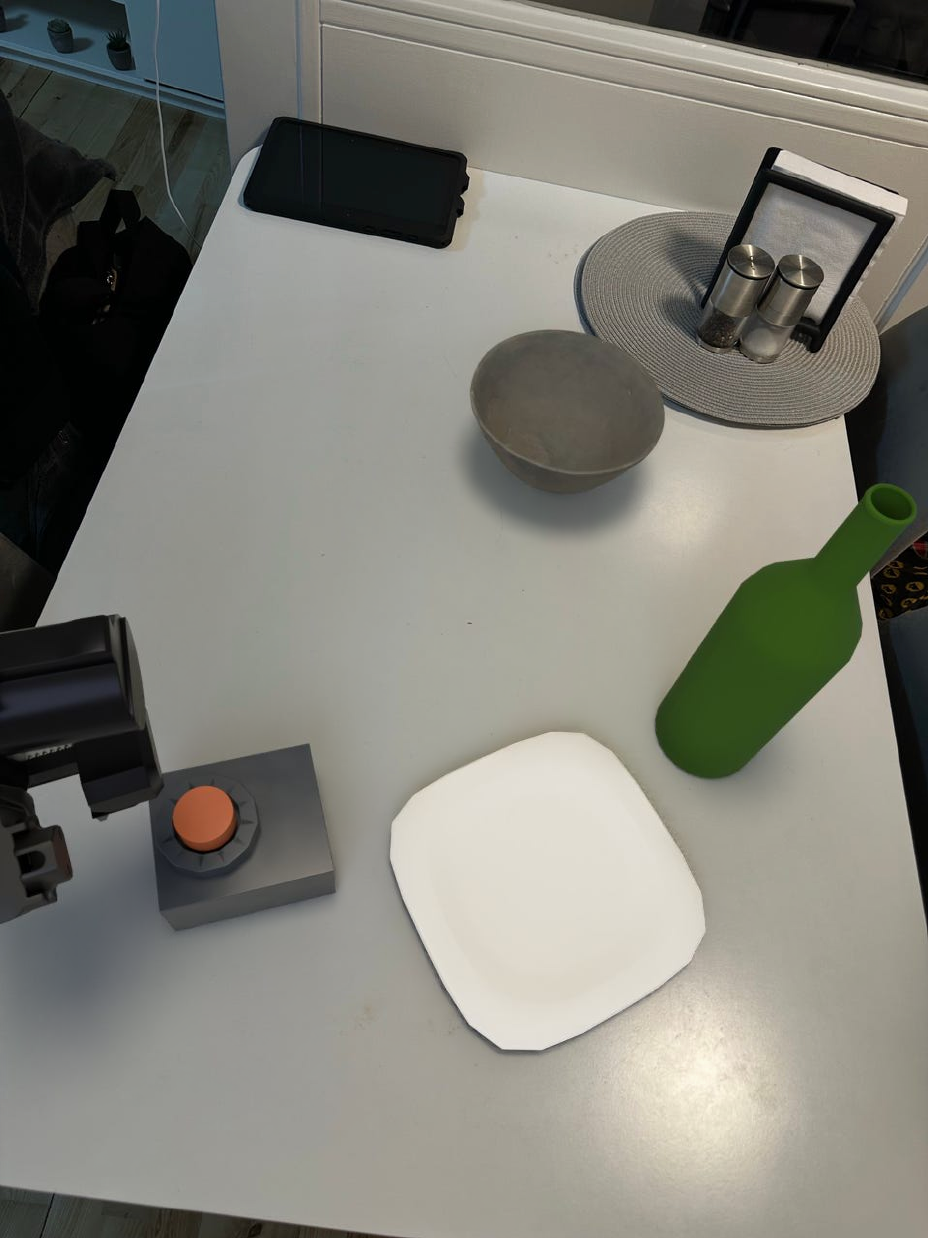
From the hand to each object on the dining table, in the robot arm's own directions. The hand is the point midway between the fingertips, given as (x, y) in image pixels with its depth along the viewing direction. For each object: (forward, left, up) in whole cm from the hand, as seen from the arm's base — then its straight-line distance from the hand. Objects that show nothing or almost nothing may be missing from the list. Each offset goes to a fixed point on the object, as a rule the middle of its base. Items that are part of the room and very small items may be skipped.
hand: (26, 837), depth 56 cm
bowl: (+49, +33, -12) cm, 60 cm away
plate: (+35, -8, -12) cm, 37 cm away
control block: (+13, 0, -12) cm, 18 cm away
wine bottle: (+53, +1, -12) cm, 54 cm away
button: (+11, 0, -5) cm, 11 cm away
